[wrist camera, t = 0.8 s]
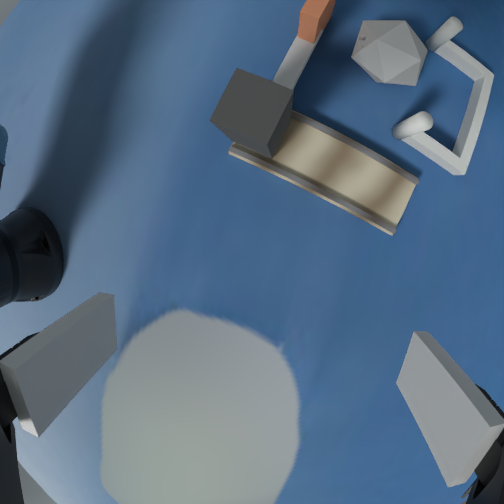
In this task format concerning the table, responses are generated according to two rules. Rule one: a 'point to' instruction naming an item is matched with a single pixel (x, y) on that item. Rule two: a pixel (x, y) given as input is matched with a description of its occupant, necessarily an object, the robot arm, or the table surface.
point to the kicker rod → (270, 89)
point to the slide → (337, 171)
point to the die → (390, 52)
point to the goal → (473, 116)
